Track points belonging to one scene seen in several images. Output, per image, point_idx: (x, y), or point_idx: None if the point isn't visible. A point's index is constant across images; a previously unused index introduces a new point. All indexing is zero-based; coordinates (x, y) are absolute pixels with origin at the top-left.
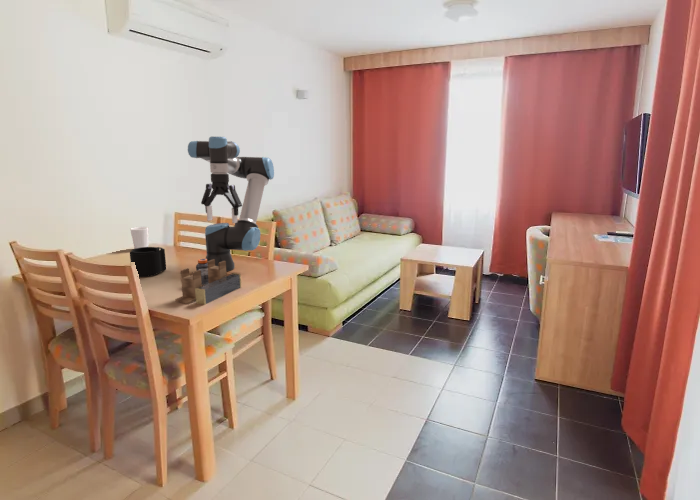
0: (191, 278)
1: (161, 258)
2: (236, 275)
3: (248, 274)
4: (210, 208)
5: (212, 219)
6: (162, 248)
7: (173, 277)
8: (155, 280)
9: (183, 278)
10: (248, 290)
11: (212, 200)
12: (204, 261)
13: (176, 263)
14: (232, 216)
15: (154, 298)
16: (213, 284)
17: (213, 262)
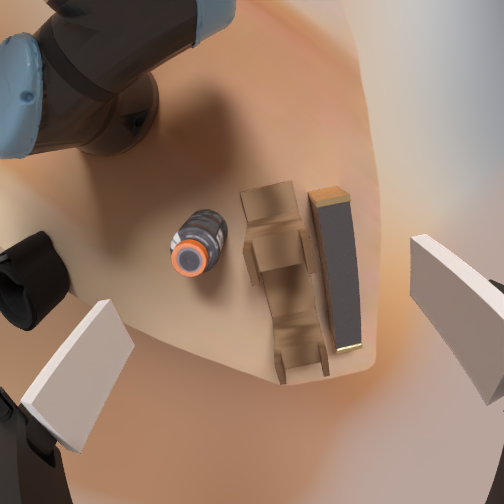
0: (310, 359)
1: (30, 260)
2: (345, 211)
3: (243, 74)
4: (64, 402)
5: (110, 304)
6: (4, 258)
7: (102, 252)
8: (101, 292)
9: (287, 367)
10: (374, 194)
11: (29, 482)
12: (206, 262)
13: (12, 178)
14: (447, 334)
15: (226, 360)
16: (350, 310)
17: (252, 253)
